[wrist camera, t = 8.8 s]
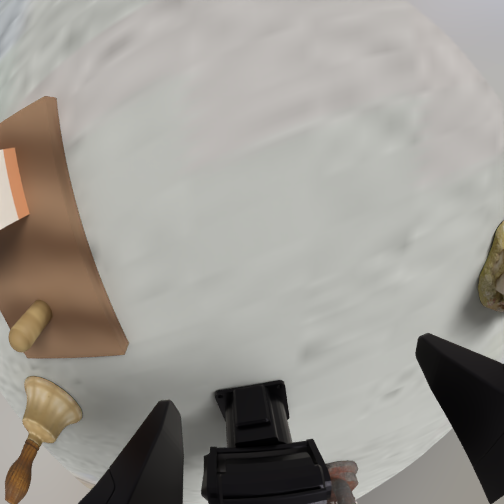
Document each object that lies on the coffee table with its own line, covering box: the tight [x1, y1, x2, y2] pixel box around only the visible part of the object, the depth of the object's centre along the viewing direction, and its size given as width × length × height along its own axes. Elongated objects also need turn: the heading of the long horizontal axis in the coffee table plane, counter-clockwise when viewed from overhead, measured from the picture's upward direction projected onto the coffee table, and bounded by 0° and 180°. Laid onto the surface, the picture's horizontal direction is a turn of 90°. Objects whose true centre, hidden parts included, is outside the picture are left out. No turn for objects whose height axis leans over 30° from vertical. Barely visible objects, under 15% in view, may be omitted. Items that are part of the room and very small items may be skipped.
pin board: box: [0, 96, 129, 358], centre depth 15 cm, size 20×12×6 cm, turn 9°
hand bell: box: [5, 376, 82, 504], centre depth 17 cm, size 8×8×16 cm
